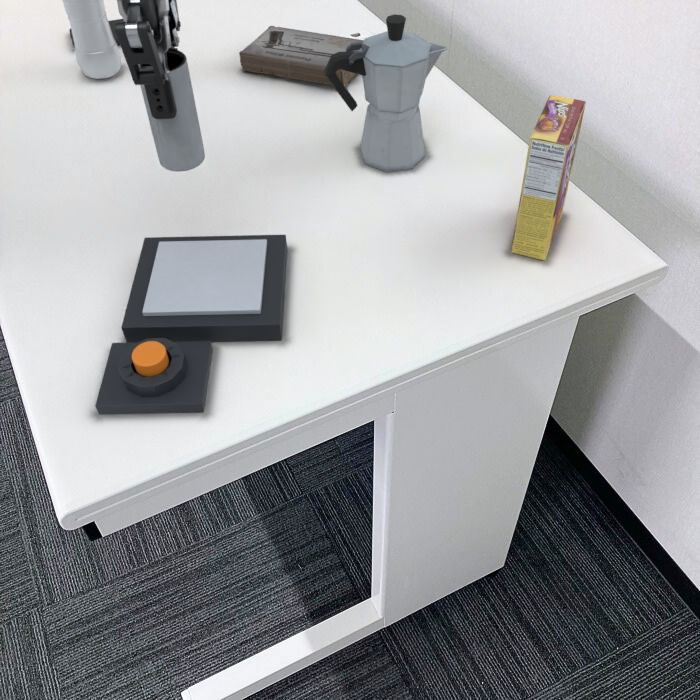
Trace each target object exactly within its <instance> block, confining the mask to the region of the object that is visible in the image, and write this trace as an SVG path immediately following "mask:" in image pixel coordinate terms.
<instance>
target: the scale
mask: <svg viewBox="0 0 700 700" xmlns="http://www.w3.org/2000/svg"><path fill="white" fill-rule="evenodd" d="M287 242H288V241H287V235H286V234H249V235H248V234H246V235H245V234H244V235H205V236H204V235H202V236H200V235H198V236H196V235H195V236H159V237H158V236H155V237H154V236H153V237H152V236H151V237H150V236H149V237H144V238H143V243H142V247H141V250H140V253H139V259H138V262H137V266H136V269H135V270H136V271H135V273H134V278H133V280H132V285H131V289H130V293H129V296H128V301H127V304H126V309H125V313H124V315H123V320H122V323H121V331H122V333H123V336H124V339H125V341H126V342H125V343H133V342H140V341H143V340H145V339H149V338H166V339H168V340H170V341H172V342H181V341H211V343H229V342H230V343H231V342H232V343H233V342H235V343H236V342H237V343H238V342H280V341H282V340H283V329H284V314H285V313H284V311H285V297H286V281H287V280H286V279H287V268H288V267H287V264H288V243H287Z"/></svg>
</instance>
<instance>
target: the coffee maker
mask: <svg viewBox="0 0 700 700" xmlns="http://www.w3.org/2000/svg"><path fill="white" fill-rule="evenodd" d="M406 20H407V17H405V16H404V15H403V14H394V13H393V14H390V15H388V16H387V17H386V19H385V23H386V29H387V31H384V32H381V33H377V34H373V35H370V36H368V37H365V38H364V39H363V40H364V41H363V43H361V42H356V43H351V44H350V45H349V46H348V47H347V48H346V52H337V53H335V54H333V55H331V57H330V59H329V61H328V64H327V66H326V68H325V70H324V73H325V75H326V77H327V78H328V79H329V81H330V82H331V84H332V85H331V84H330V85H331V86H333V88H334V89H335V91H336V92H337V93H338V95H339V96H340V97H341V99H342V100H343V102H344V103H345V104H346V106H347V107H348V109H349V110H350V112H353V111H354V110H355V109H357V107H358V103H357V101H356V100H355V98H354V97H353V95H352V94H351V93H350V91H349V90H348V88H347V87H346V86H344V85H343V83H342V82H341V80H340V79H339V78H338V76H337V75H336V72H337V70H345V71H348V72H352V73H356V75H359V76H361V78H362V84H363V91H364V99H365V101H366V102H367V103H369V104H367V106H366V113H365V119H364V124H363V130H362V135H361V142H360V147H359V150H360V154H361V157H362V160H363V164H364V165H366V166H369V167H371V168H374V169H376V170H379V171H381V172H384V173H391V172H392V173H393V172H400V171H410V170H413V169H414V168H415V167H416V166H417V165H418V164H419V163H420V162H421V161H422V160H423V159H425V157H426V153H425V144H424V143H425V142H424V135H423V125H422V115H421V110H420V106H419V105H420V101H421V100H420V99H421V97H422V96H423V92H424V88H425V84H426V80H427V78H428V76H429V75H430V73H431V71H432V69H433V68H434V66H435V64H436V63H437V61H438V59H440V56H441V55H442V53H443V52H445V51H447V50H448V47H447V46H443V45H439V44H437V43H432V42H429V41H428V40H425V39H424V38H422V37H421V36H420V35H418V34H417V33H415V32H414V33H413V32H404V30H405V26H406V22H407V21H406ZM355 50H359V51H355Z"/></svg>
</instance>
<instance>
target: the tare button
mask: <svg viewBox="0 0 700 700" xmlns="http://www.w3.org/2000/svg"><path fill="white" fill-rule="evenodd" d="M132 360H133V363H134V366H135V369H136V371H137V372H138V373H139V374H141V375H143V376H147V377H151V376H156V375H159V374H161V373H162V372H163V371H165V370H166V368H167V367H168V364H169V359H168V355H167V352H166V349H165V347H164V346H163V345H162V344H161V343H159V342H156V341H148V342H144V343H142V344H140V345H138V346H137V347H136V348H135V349H134V350H133V352H132Z"/></svg>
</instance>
